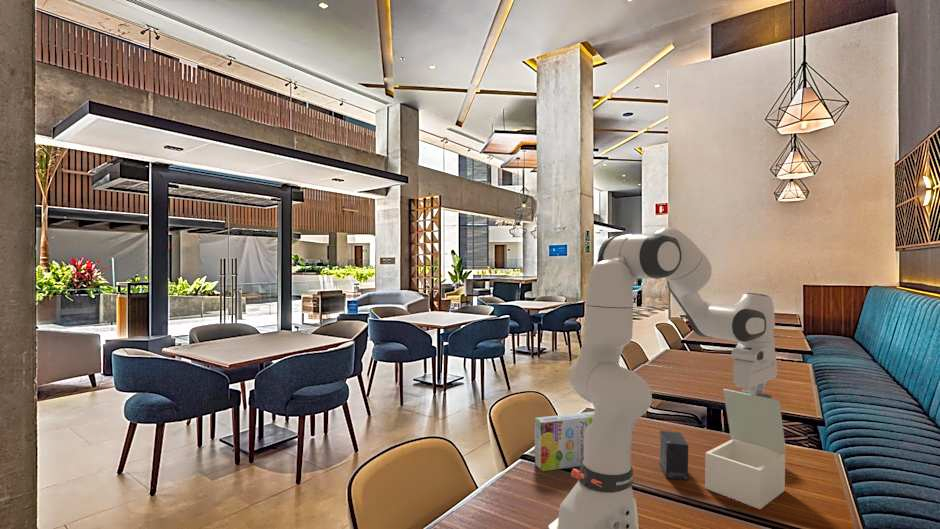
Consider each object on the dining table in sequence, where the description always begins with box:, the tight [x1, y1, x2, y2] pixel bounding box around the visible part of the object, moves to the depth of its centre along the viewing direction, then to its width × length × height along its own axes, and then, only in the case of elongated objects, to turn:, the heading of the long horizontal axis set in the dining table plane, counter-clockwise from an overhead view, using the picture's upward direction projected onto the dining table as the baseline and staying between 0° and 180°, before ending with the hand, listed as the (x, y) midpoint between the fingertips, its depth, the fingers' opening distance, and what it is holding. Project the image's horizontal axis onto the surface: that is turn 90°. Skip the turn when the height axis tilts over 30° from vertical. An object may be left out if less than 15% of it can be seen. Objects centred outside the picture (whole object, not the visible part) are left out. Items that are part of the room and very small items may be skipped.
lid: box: [722, 388, 787, 455], centre depth 136 cm, size 16×14×5 cm
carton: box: [704, 438, 786, 510], centre depth 132 cm, size 16×14×10 cm
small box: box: [659, 430, 689, 481], centre depth 143 cm, size 11×6×10 cm, turn 168°
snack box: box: [533, 411, 594, 472], centre depth 149 cm, size 21×6×15 cm, turn 105°
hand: (756, 398), depth 136 cm, fingers closed on lid, 2 cm apart
